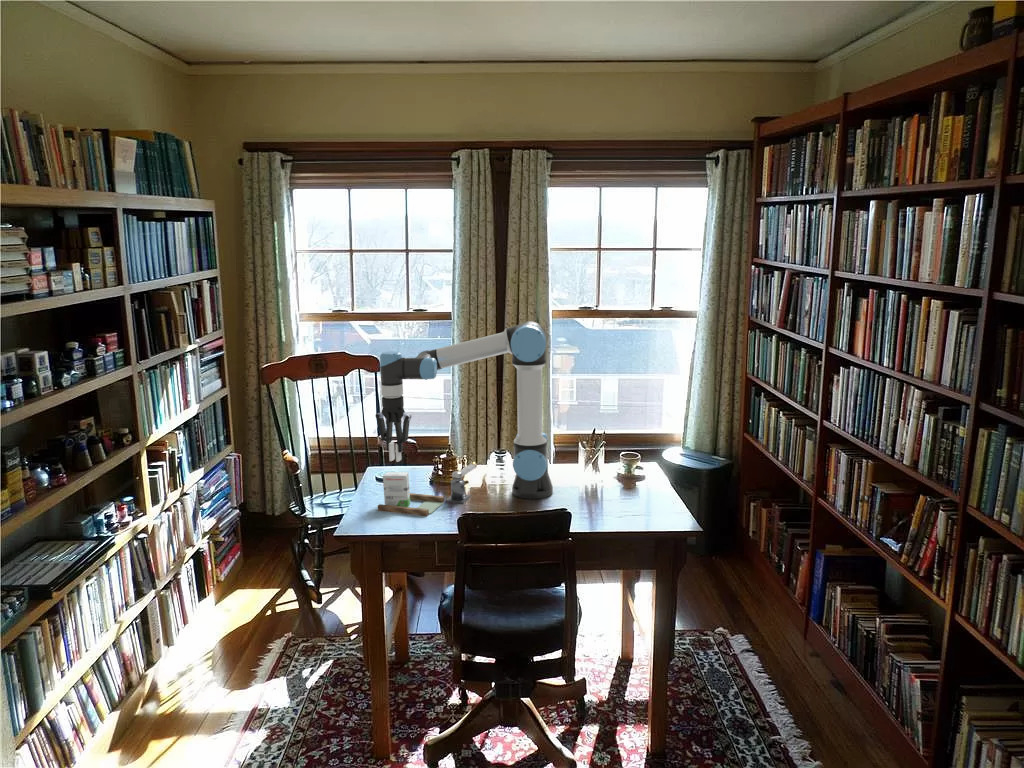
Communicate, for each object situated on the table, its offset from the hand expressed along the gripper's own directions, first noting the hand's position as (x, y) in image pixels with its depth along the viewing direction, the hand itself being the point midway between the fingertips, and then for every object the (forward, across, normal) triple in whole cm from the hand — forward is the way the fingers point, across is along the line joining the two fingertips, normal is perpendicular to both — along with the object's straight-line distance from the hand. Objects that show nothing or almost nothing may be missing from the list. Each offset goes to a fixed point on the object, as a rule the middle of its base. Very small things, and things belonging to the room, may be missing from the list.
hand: (395, 460), depth 274 cm
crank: (+9, -20, -17) cm, 28 cm away
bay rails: (+17, -6, 0) cm, 18 cm away
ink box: (+17, 0, 0) cm, 17 cm away
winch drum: (+17, -19, -11) cm, 28 cm away
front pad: (+17, -12, 0) cm, 21 cm away
